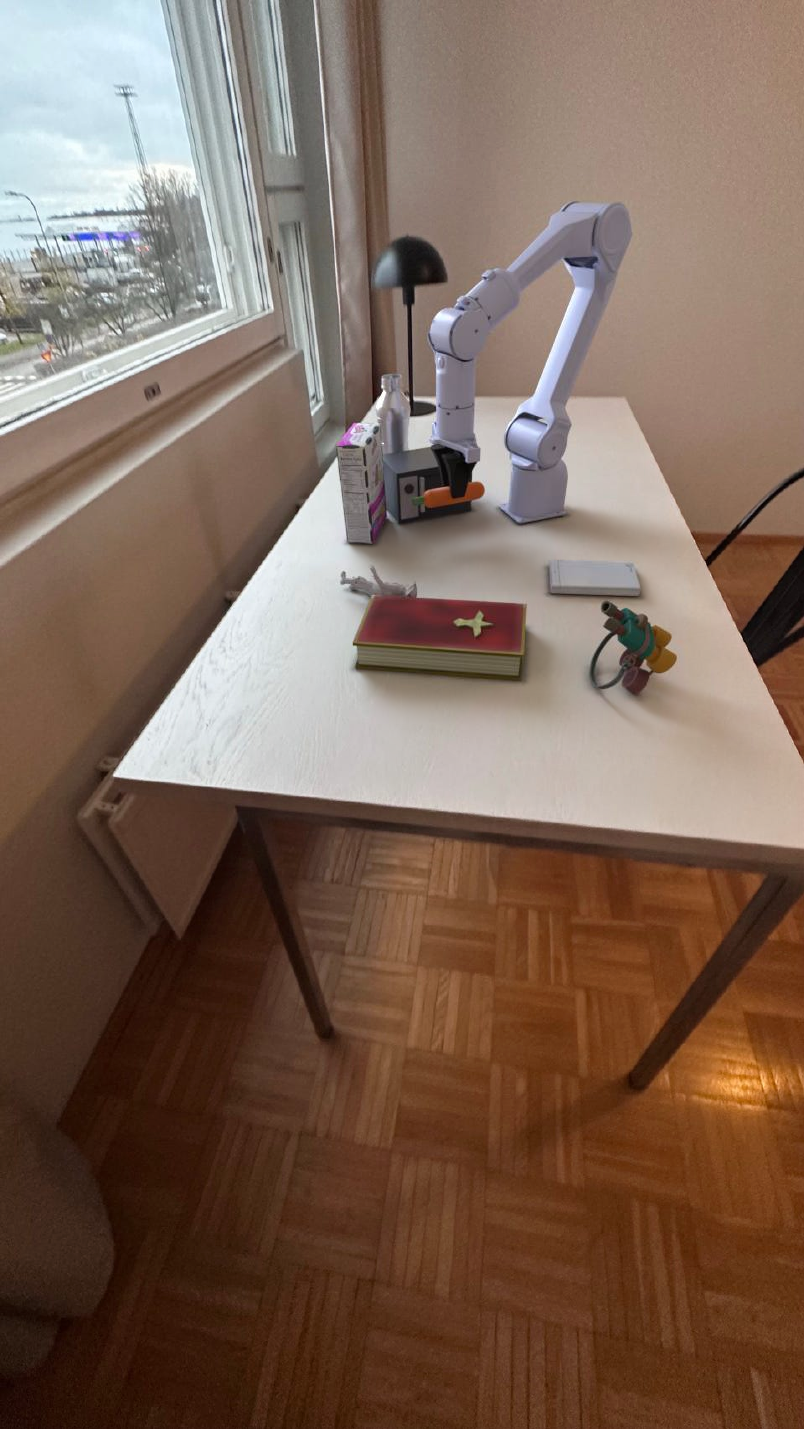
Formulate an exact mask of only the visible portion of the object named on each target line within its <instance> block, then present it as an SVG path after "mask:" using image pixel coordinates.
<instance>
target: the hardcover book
mask: <svg viewBox="0 0 804 1429" xmlns="http://www.w3.org/2000/svg"><path fill="white" fill-rule="evenodd" d="M527 605H528V603H523V602H521V603H519V602H506V601H505V602H503V601H485V600H467V599H451V598H450V599H449V598H435V597H434V598H431V597H430V598H429V597H399V596H381V595H372V596H371V597H370V599H369V601H368V604H367V606H366V609H365V611H364V613H363V616H362V619H361V621H360V623H359V626H358V629H357V631H356V633H355V636H354V638H353V641H352V646H354V647H356V653H357V660H356V662H355V665H354V668H355V669H357V670H373V671H385V672H396V673H397V672H398V673H412V674H423V675H424V674H425V675H437V676H438V675H439V676H449V677H450V676H452V677H464V678H477V679H478V678H479V679H492V680H503V681H518V682H521V681H522V676H523V673H522V672H523V658H524V657H525V645H526V644H525V643H526V627H527V626H526V624H527Z"/></svg>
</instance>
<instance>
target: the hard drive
mask: <svg viewBox="0 0 804 1429" xmlns="http://www.w3.org/2000/svg"><path fill="white" fill-rule="evenodd" d="M548 566H549V567H548V572H549V588H550V594H558V595H559V594H561V595H562V594H563V595H588V596H589V595H591V596H623V597H640V593H641V585H640V581H639V578H638V574H637V571H636V567H635V563H634V561H612V560H611V561H608V560H607V561H606V560H573V559H550V560H549V565H548Z"/></svg>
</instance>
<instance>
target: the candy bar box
mask: <svg viewBox="0 0 804 1429" xmlns="http://www.w3.org/2000/svg"><path fill="white" fill-rule="evenodd" d="M335 450H336V451H335V452H336V459H337V469H338V476H339V484H340V492H341V499H342V500H341V502H342V508H343V518H344V526H345V535H346V536H345V537H346V542H347V543H348V544H358V545H359V544H362V545H365V544H366V545H373V544H374V543H375V541H376V539H377V538H378V535H379V533H380V531H381V529H382V527H383V526H384V524H385V521H386V520H387V518H388V514H387V513H388V510H387V509H386V496H385V483H384V468H383V454H382V439H381V424H379V423H378V422H376V423H375V422H363V423H362V422H353V423H352V425H351V426H350V427H349V429H348V430H347V431H346V433H345V434H344V435H343V436H342V437H341V439H340V440H339V441H338V443H337V444H336V445H335Z"/></svg>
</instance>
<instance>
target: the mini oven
mask: <svg viewBox="0 0 804 1429" xmlns="http://www.w3.org/2000/svg"><path fill="white" fill-rule="evenodd" d="M383 468H384V483H385V496H386V511H387V512H389V514H390V515H391V516H392V518H394V520H395V521H396V523H398V524H399V525H402V524H407V523H412V522H413V523H414V522H419V521H423V520H428V519H433V518H434V519H435V518H439V517H444V516H449V515H450V516H451V515H455V514H459V513H466V512H471V511H472V500H471V501H465V502H460V503H455V504H449V505H444V506H438V507H433V508H429V507H427V506H425V505H424V504H421V505H416V506H413V504H412V498H416V497H421V496H423V494H424V493H425V492H426V491H427V490H431V489H436V488H442V487H443V485H442V480H441V475H440V471H439V467H438V464H437V461H436V458H435V456H434V454H433V452H432V450H431V446H426V447H420V448H415V449H414V448H413V449H409V450H407V451H401V452H395V453H389V454H383ZM470 482H473V472H472V473H471V476H470V479H469V482H468V483H470Z"/></svg>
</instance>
